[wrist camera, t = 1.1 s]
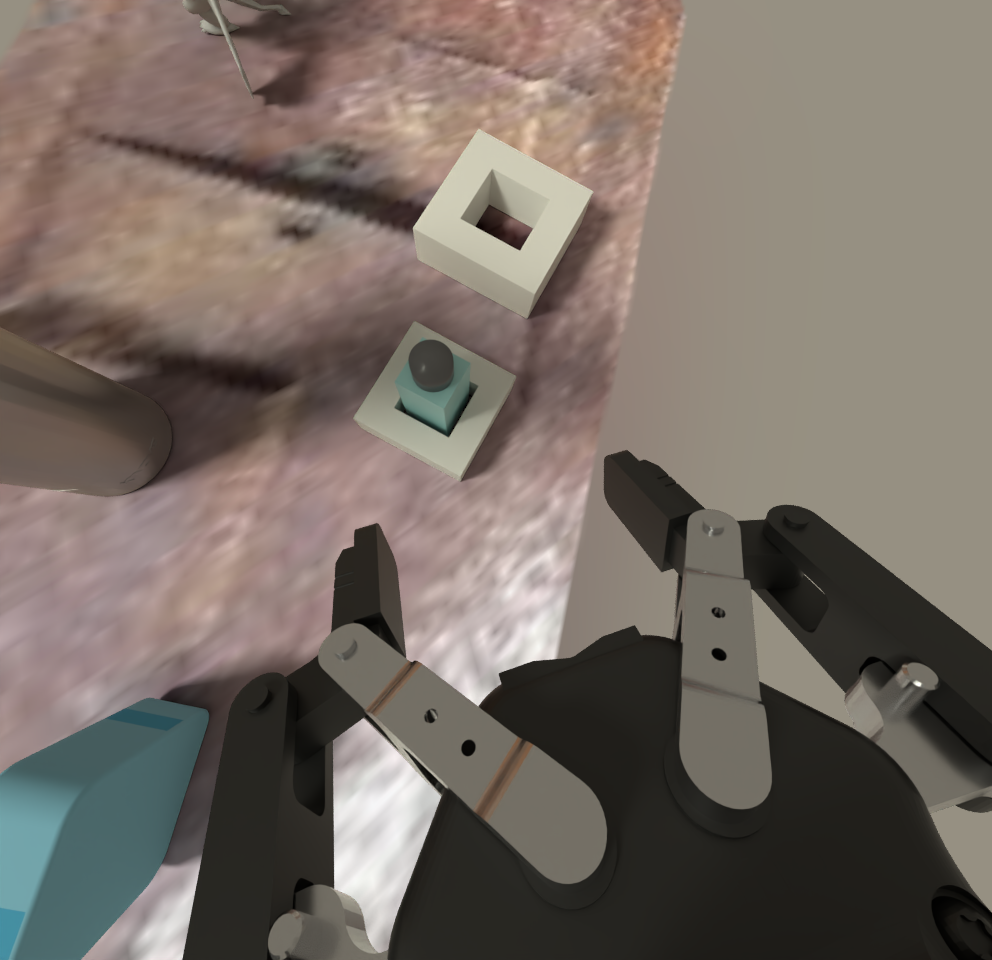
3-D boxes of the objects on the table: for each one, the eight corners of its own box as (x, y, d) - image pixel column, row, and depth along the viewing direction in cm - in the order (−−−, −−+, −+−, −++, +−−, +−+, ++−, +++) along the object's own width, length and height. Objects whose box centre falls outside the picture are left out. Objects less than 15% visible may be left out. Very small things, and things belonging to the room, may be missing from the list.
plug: (408, 416, 37) (389, 370, 27) (430, 379, 38) (419, 322, 28) (447, 437, 37) (442, 399, 27) (468, 400, 38) (471, 350, 28)
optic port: (417, 259, 39) (412, 228, 35) (476, 168, 41) (478, 128, 38) (527, 319, 39) (534, 294, 35) (580, 224, 42) (593, 191, 38)
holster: (361, 428, 36) (353, 418, 33) (417, 338, 38) (414, 320, 35) (460, 481, 36) (460, 476, 34) (512, 389, 38) (516, 376, 35)
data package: (158, 690, 32) (-19, 777, 20) (216, 702, 32) (74, 795, 20) (99, 861, 30) (-136, 1069, 18) (161, 873, 30) (-31, 1085, 18)
